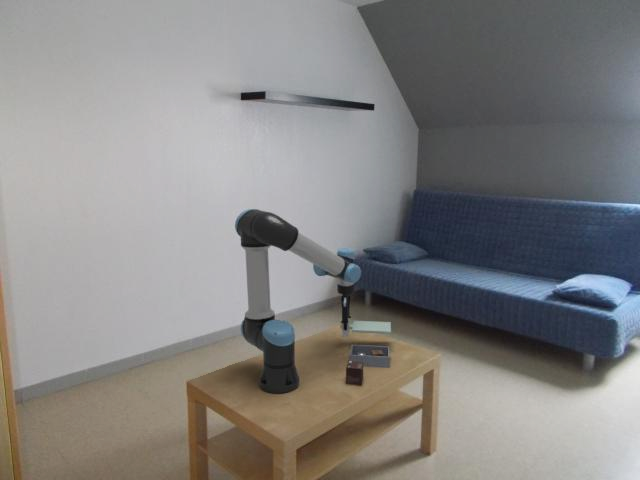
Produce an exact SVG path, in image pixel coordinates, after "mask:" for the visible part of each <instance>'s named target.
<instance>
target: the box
mask: <svg viewBox="0 0 640 480" xmlns="http://www.w3.org/2000/svg"><path fill="white" fill-rule="evenodd" d="M363 382H364V366H363V362H355V361H350V360H349V361H347V364H346V367H345V385H352V386H360V387H362V386H363Z"/></svg>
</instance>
